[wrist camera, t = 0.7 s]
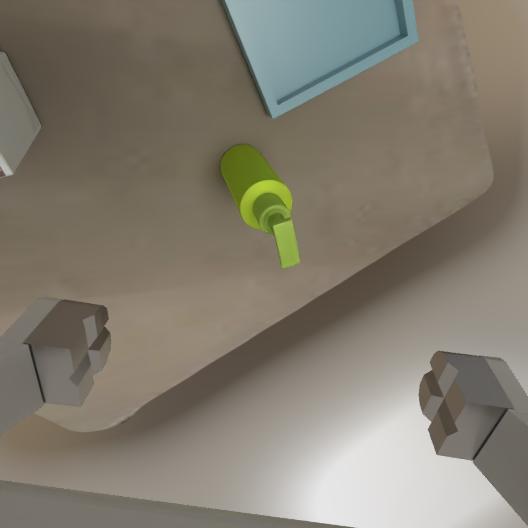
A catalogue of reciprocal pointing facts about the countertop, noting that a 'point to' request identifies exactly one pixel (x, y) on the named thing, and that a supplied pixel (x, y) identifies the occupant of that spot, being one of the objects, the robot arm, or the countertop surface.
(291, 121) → the countertop surface
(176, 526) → the robot arm
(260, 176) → the soap dispenser
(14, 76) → the skincare box
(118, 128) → the countertop surface
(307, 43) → the tray
